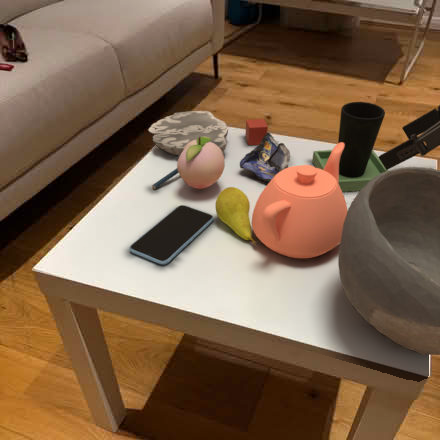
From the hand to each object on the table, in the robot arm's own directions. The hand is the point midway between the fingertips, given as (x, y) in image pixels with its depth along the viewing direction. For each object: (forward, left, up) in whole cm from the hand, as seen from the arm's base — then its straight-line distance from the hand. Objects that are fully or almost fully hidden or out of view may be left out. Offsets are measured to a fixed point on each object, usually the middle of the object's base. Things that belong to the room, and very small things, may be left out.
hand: (395, 147), depth 84 cm
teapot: (+20, +14, -7) cm, 26 cm away
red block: (+22, -21, -7) cm, 31 cm away
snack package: (+21, -8, -7) cm, 24 cm away
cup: (+6, -4, -7) cm, 10 cm away
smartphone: (+41, +12, -7) cm, 44 cm away
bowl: (+11, +33, -7) cm, 35 cm away
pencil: (+44, -3, -7) cm, 45 cm away
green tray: (+6, -4, -7) cm, 10 cm away
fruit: (+32, +6, -3) cm, 32 cm away
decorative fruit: (+35, -2, -7) cm, 36 cm away
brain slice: (+36, -21, -8) cm, 42 cm away
